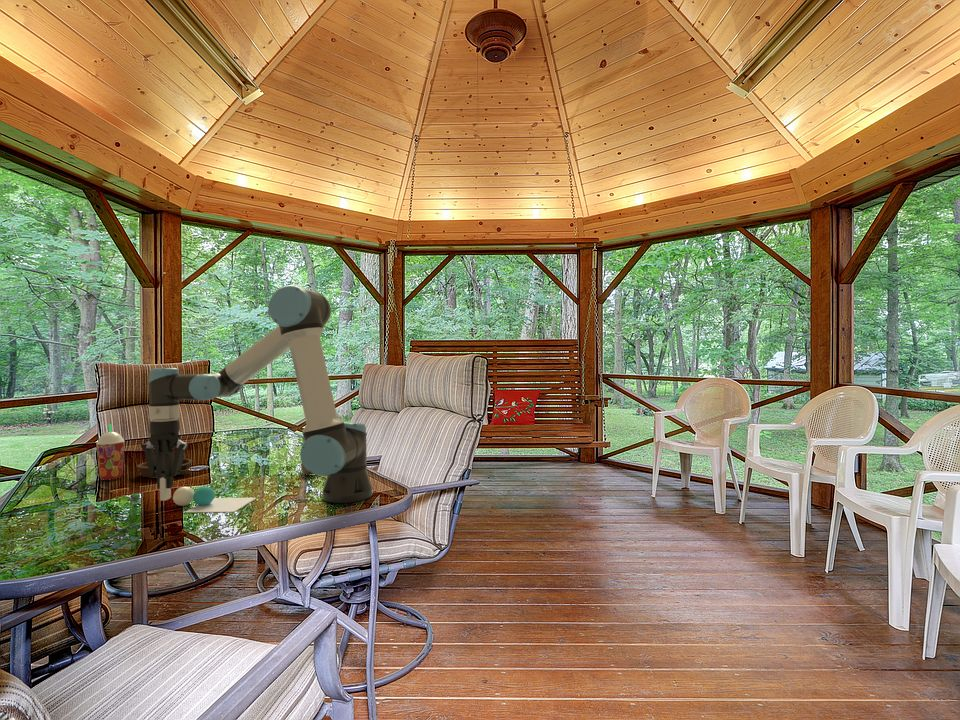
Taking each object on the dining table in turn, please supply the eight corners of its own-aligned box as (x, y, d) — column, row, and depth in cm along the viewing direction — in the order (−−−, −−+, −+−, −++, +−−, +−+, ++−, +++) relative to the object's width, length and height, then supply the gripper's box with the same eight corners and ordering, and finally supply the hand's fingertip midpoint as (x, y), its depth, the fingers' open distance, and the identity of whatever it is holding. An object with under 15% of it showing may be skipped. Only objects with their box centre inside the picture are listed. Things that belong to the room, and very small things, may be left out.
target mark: (257, 498, 153) (257, 497, 153) (234, 512, 139) (234, 511, 139) (212, 498, 153) (212, 497, 153) (184, 512, 139) (184, 511, 139)
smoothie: (124, 475, 186) (123, 422, 186) (126, 479, 180) (125, 424, 180) (96, 478, 181) (95, 424, 181) (97, 483, 174) (96, 426, 174)
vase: (297, 476, 182) (297, 452, 181) (308, 472, 188) (307, 449, 188) (313, 477, 180) (313, 453, 180) (324, 473, 187) (324, 449, 187)
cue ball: (176, 492, 149) (187, 506, 149) (165, 497, 143) (176, 511, 143) (191, 480, 149) (202, 495, 149) (180, 485, 143) (191, 500, 143)
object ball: (216, 504, 149) (219, 486, 149) (206, 509, 143) (209, 490, 143) (198, 500, 149) (201, 482, 149) (187, 506, 143) (191, 487, 143)
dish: (162, 483, 174) (162, 469, 174) (121, 478, 182) (121, 464, 182) (206, 472, 190) (206, 459, 190) (167, 468, 199) (167, 456, 199)
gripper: (133, 421, 142) (134, 503, 142) (178, 421, 142) (179, 502, 142) (151, 418, 150) (152, 495, 150) (193, 418, 150) (194, 495, 150)
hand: (165, 499), depth 146 cm, fingers closed
